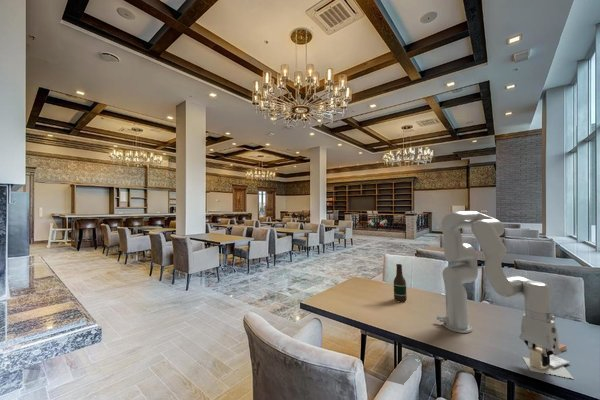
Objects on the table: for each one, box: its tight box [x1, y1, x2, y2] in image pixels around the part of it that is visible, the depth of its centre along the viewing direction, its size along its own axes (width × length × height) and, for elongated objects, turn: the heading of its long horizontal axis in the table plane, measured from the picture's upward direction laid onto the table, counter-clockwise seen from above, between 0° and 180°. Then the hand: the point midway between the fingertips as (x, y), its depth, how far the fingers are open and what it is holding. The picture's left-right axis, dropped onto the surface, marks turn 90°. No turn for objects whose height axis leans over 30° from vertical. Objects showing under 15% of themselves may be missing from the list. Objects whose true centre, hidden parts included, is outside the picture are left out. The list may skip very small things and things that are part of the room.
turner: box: [529, 347, 571, 370], centre depth 99 cm, size 16×6×6 cm, turn 108°
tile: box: [536, 342, 567, 353], centre depth 111 cm, size 2×9×9 cm
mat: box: [522, 356, 575, 380], centre depth 97 cm, size 12×9×1 cm
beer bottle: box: [393, 263, 408, 303], centre depth 170 cm, size 8×8×24 cm
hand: (540, 362), depth 98 cm, fingers closed on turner, 2 cm apart
